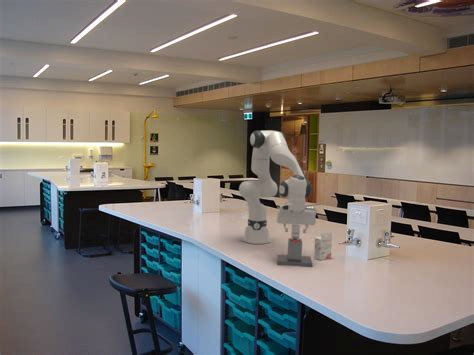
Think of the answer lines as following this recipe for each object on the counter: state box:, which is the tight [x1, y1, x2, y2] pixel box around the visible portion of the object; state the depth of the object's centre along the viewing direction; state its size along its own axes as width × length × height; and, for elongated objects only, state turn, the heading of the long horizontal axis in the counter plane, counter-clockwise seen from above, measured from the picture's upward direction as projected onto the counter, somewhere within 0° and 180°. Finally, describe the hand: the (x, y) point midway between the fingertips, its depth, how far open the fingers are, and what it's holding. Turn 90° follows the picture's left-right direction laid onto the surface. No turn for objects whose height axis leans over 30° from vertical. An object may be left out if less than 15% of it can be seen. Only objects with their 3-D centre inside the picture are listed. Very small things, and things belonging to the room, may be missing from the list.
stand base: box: [276, 237, 313, 268], centre depth 225 cm, size 13×18×13 cm
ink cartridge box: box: [313, 231, 333, 261], centre depth 235 cm, size 9×5×15 cm, turn 123°
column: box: [290, 224, 301, 241], centre depth 225 cm, size 4×4×18 cm
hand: (295, 232), depth 224 cm, fingers open, 8 cm apart
